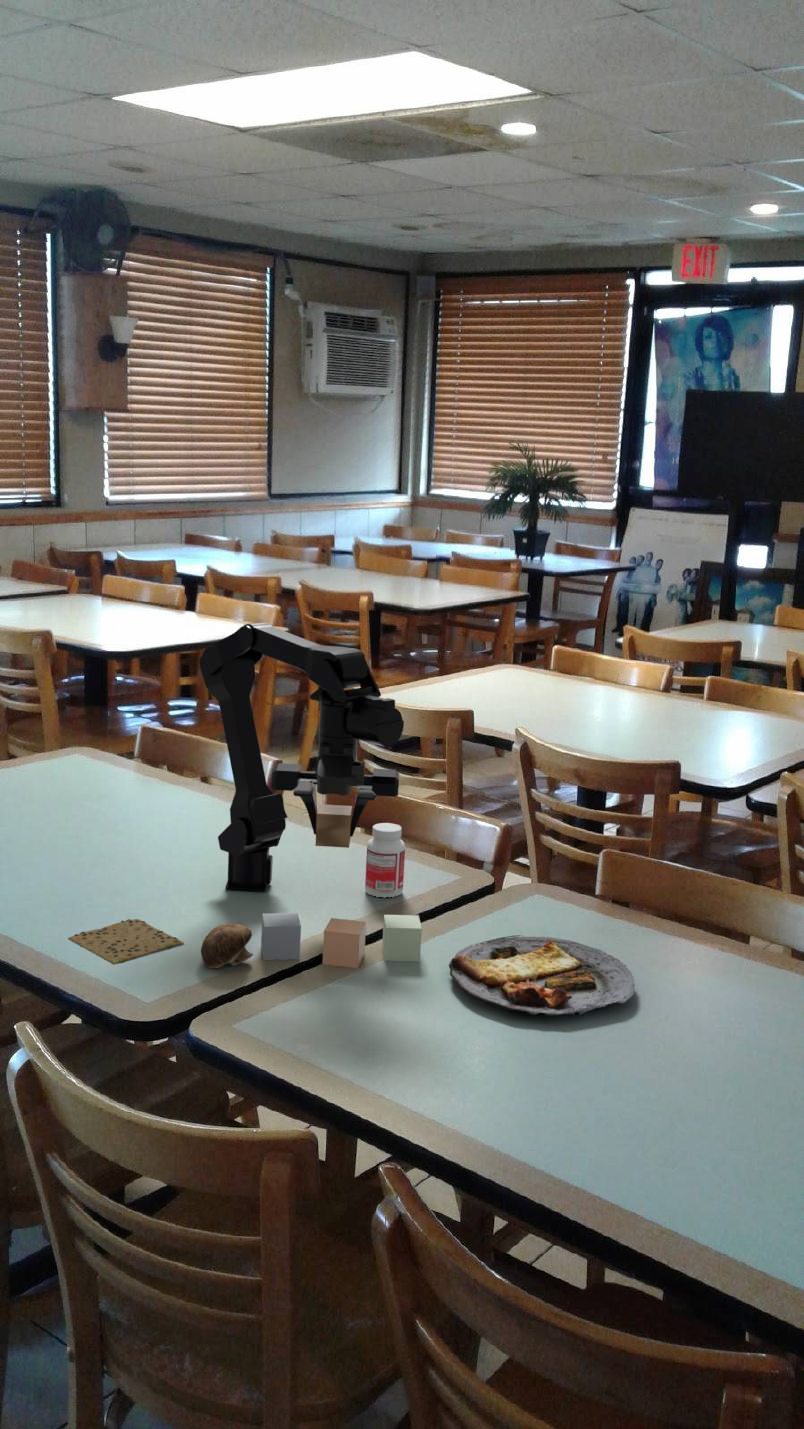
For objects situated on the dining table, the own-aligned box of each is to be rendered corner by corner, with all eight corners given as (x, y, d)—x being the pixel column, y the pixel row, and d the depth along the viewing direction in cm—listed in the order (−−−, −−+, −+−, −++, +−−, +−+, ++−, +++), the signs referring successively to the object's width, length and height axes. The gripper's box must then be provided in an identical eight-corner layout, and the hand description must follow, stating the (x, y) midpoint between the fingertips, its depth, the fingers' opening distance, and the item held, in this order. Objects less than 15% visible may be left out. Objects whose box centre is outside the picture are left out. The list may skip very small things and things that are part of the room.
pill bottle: (386, 883, 208) (390, 819, 206) (410, 894, 204) (414, 829, 202) (356, 890, 205) (360, 824, 202) (380, 901, 200) (384, 834, 198)
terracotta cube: (322, 964, 175) (323, 930, 174) (329, 951, 180) (331, 917, 178) (357, 968, 174) (359, 934, 173) (364, 954, 179) (366, 921, 178)
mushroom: (275, 940, 174) (248, 906, 172) (246, 979, 168) (218, 944, 166) (238, 951, 179) (211, 918, 177) (208, 990, 173) (181, 956, 171)
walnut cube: (315, 845, 187) (316, 813, 186) (317, 835, 192) (319, 804, 191) (349, 847, 187) (350, 815, 186) (350, 837, 192) (352, 806, 191)
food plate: (506, 1038, 156) (509, 1011, 155) (418, 966, 176) (419, 942, 176) (666, 1007, 168) (668, 982, 167) (565, 943, 188) (567, 921, 187)
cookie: (65, 941, 178) (65, 934, 178) (137, 921, 187) (137, 915, 187) (112, 968, 170) (113, 961, 170) (186, 946, 179) (186, 940, 179)
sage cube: (384, 961, 177) (386, 927, 176) (382, 947, 182) (383, 914, 181) (419, 961, 178) (421, 928, 176) (416, 948, 182) (418, 915, 181)
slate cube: (263, 960, 175) (264, 926, 174) (261, 946, 180) (262, 913, 179) (299, 960, 176) (301, 926, 175) (296, 946, 181) (297, 913, 180)
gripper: (269, 742, 179) (265, 848, 182) (400, 750, 179) (394, 855, 182) (277, 725, 189) (273, 825, 193) (401, 732, 190) (395, 832, 193)
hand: (333, 834), depth 190 cm, fingers closed on walnut cube, 5 cm apart
